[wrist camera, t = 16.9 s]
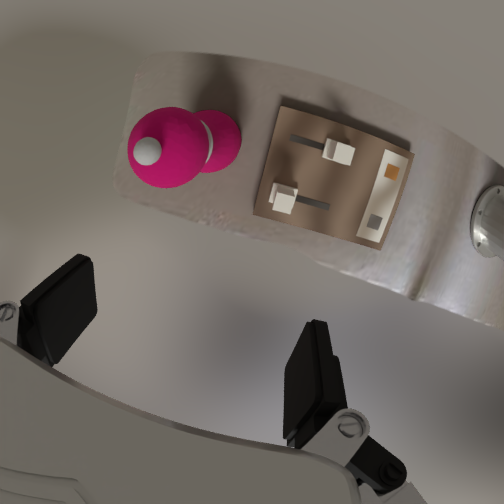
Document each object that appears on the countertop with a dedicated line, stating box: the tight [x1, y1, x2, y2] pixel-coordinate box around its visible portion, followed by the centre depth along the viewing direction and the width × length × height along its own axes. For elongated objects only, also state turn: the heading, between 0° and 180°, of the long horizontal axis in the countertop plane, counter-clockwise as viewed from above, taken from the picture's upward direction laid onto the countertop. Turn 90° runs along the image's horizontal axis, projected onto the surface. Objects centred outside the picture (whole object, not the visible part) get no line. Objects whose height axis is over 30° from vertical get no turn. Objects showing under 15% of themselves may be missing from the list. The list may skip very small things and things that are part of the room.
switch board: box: [253, 106, 415, 250], centre depth 32 cm, size 18×14×2 cm
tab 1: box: [269, 182, 298, 214], centre depth 31 cm, size 3×2×4 cm
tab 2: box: [321, 138, 355, 166], centre depth 28 cm, size 3×2×4 cm
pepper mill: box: [128, 107, 241, 188], centre depth 23 cm, size 7×7×20 cm
